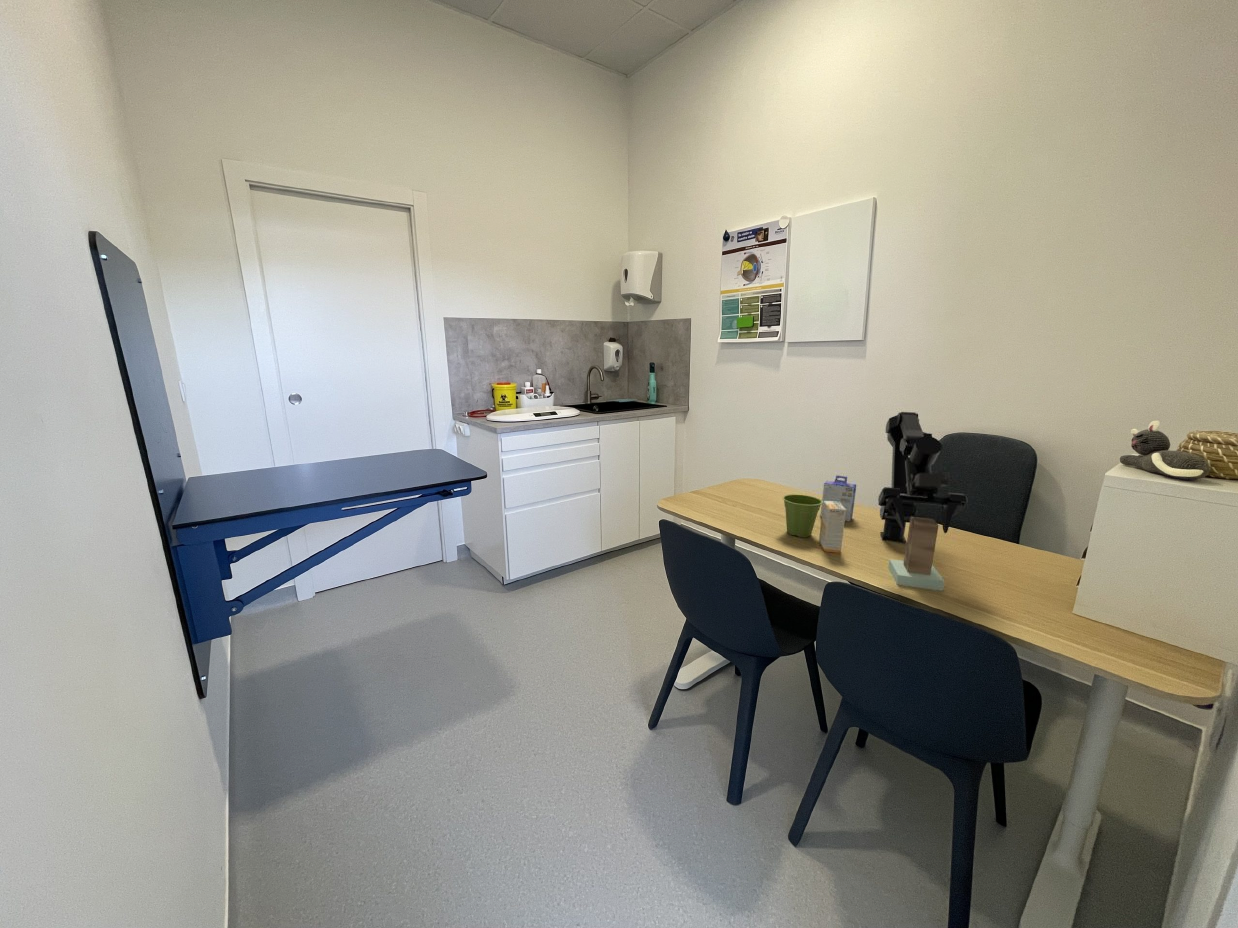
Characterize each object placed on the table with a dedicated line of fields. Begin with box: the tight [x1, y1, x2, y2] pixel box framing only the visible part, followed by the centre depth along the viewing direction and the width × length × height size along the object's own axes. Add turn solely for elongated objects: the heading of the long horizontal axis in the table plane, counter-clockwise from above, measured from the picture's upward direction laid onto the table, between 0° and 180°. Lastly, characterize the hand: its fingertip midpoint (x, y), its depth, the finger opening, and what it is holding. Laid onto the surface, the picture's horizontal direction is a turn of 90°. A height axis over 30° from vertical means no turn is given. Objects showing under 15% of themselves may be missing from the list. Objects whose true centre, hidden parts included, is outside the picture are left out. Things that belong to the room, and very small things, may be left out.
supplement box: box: [818, 501, 846, 554], centre depth 142 cm, size 8×5×13 cm, turn 168°
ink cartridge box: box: [819, 474, 857, 522], centre depth 168 cm, size 10×6×14 cm, turn 58°
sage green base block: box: [887, 558, 945, 592], centre depth 124 cm, size 10×10×3 cm
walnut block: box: [903, 516, 939, 575], centre depth 122 cm, size 5×5×13 cm
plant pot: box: [782, 493, 823, 538], centre depth 153 cm, size 12×12×11 cm
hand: (924, 530), depth 120 cm, fingers open, 9 cm apart
